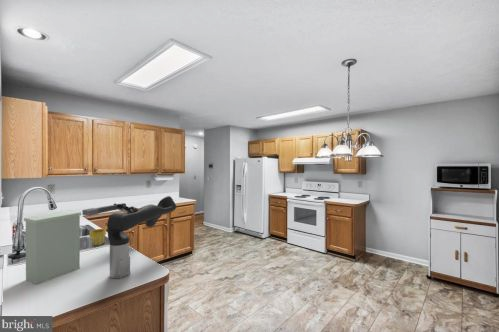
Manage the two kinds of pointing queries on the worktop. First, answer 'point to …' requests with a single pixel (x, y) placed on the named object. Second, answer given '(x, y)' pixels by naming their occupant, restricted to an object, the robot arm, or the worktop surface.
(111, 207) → the long gray t-shaped bar
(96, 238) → the plant pot
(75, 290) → the worktop surface
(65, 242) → the tall capped green box
